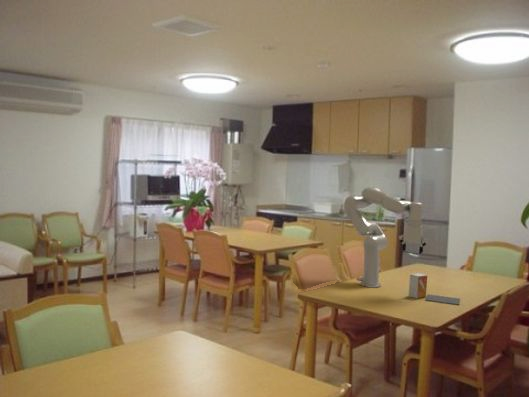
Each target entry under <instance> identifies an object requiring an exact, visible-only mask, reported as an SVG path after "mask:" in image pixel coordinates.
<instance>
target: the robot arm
mask: <svg viewBox="0 0 529 397" xmlns="http://www.w3.org/2000/svg"><path fill="white" fill-rule="evenodd" d="M373 204H375V205H377V206H380V207H381V208H383V209H384V210H386V211H389V212H390V213H391V212H392V213H395V214H398V215H399V214H408V218H407V219H406V220H405V223H407V224H406V225H405V229H404V233H403V234H401V235H399V236H398V240H399V241H400V243H401V244H402V247H401V249H402V252H406V249H407V243H411V244H418V245H419V250H418V251H419V252H418V253H419V254H422V253H423V252H424V247H425V246H426V245H428V243H429V239H428V238H426V237H424V236H423V235H424V234H423V233H424V230H423V226H422V217H423V207H424V205H423V203H422V202H417V201H416V202H415V201H410V200H397V199H395V198H391V197H389V193H387V192H384V191H381V189H380V188H378V187H365V188H364V189H363V190H362V191H361V195H359V194H358V195H349V196H347V197H346V198H345V200H344V203H343V209H344V212H345V214H346V216H347V217H348V218H349V220H350V222H351V223H352V225H353V226H354V228H355V230H356V231H357V233H358V235H359V236H361V237H365V239H364V241H363V252H364V254H363V255H364V256H363V257H364V258H363V277H362V276H361V277H357V276H356V281H358V282H360V286H363V287H366V288H367V287H368V288H380V287H381V286H382V284H381V283H380V281H379V278H380V260H381V258H380V252H379V251H380V250H381V251H382V250H385V249H386V248H387V247H388V244H389V243H388V239H387V236H386V235H385V233H384V232H383V230H382V229H381V227H380V225H379V224H378V223H377V222H375V221H373V220H367V219H366V217H365V216H364V215H363V213H362V212H361V211H360V210H359V209H365V208H368V207H369V206H371V205H373ZM423 241H424V242H423Z"/></svg>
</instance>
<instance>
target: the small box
mask: <svg viewBox="0 0 529 397" xmlns="http://www.w3.org/2000/svg"><path fill="white" fill-rule="evenodd" d="M427 283H428V275H427V274H425V273H420V272H419V273H410V274H409V283H408V284H409V285H408V287H409V288H408V297H410V298H414V299H421V298H426V296H427V287H428V286H427Z"/></svg>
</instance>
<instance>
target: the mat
mask: <svg viewBox="0 0 529 397" xmlns="http://www.w3.org/2000/svg"><path fill="white" fill-rule="evenodd" d="M424 301H426V302H433V303H440V304H446V305H447V304H448V305H452V306H453V305H454V306H460V302H461V298H459V297H450V296H444V295H443V296H442V295H434V294H429V293H426V297H425V298H424Z"/></svg>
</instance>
